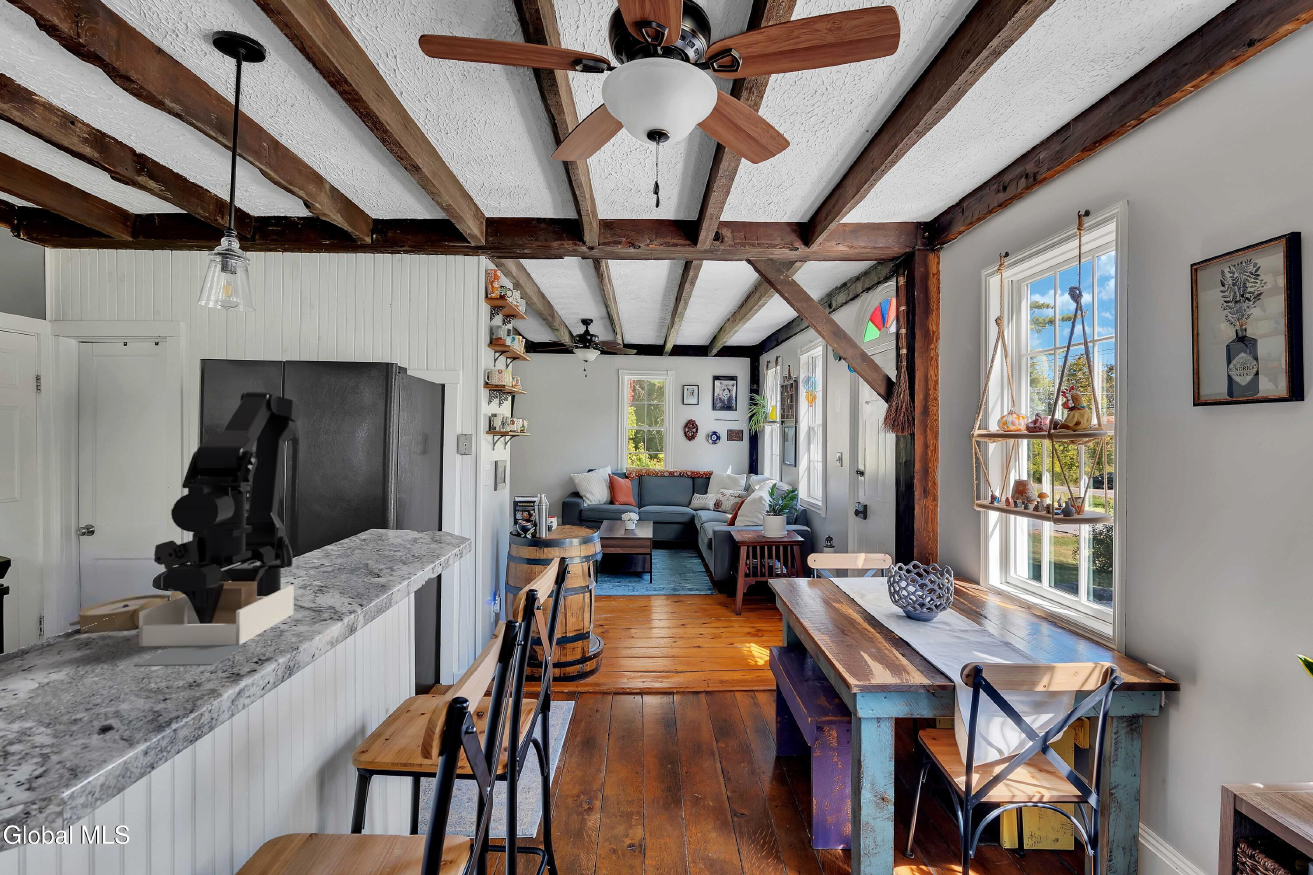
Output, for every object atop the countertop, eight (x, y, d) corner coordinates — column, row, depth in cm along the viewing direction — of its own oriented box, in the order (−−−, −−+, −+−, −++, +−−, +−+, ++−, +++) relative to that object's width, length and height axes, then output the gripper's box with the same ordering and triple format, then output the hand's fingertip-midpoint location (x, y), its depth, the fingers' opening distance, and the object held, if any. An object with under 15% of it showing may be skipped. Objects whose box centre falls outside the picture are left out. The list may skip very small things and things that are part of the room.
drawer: (208, 617, 101) (208, 585, 100) (293, 616, 102) (293, 584, 102) (138, 649, 86) (139, 612, 86) (239, 647, 87) (239, 611, 87)
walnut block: (205, 624, 95) (205, 581, 95) (256, 623, 96) (257, 580, 96) (187, 632, 91) (187, 587, 91) (241, 632, 92) (241, 587, 92)
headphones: (110, 598, 101) (205, 580, 104) (115, 626, 101) (210, 607, 104) (56, 619, 90) (164, 598, 93) (62, 650, 90) (170, 628, 93)
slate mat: (172, 650, 85) (172, 646, 85) (244, 649, 86) (244, 644, 86) (133, 669, 78) (133, 665, 78) (212, 668, 79) (212, 663, 79)
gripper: (210, 513, 102) (209, 602, 102) (121, 531, 84) (120, 639, 84) (276, 513, 103) (276, 601, 103) (204, 531, 84) (203, 638, 85)
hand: (222, 618), depth 94 cm, fingers open, 8 cm apart
